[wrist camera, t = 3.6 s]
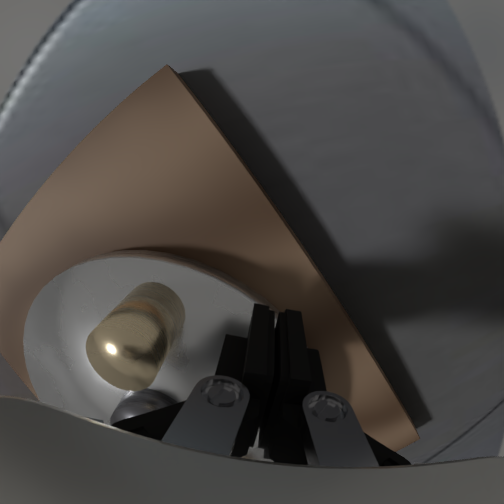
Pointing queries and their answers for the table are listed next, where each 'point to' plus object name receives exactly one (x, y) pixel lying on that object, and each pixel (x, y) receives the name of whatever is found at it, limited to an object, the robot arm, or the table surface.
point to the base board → (184, 235)
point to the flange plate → (100, 298)
